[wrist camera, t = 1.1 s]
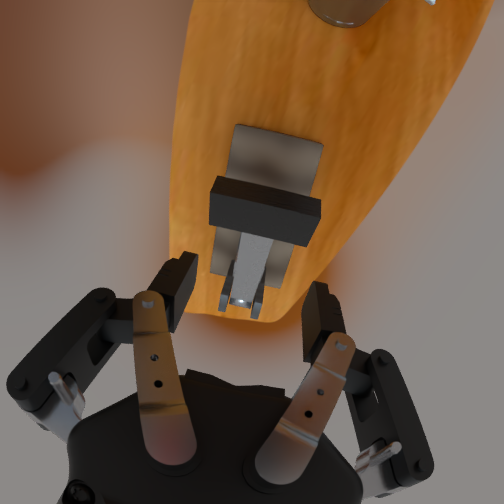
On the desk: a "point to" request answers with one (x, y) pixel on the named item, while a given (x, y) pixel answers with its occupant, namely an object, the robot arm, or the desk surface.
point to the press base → (272, 175)
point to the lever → (259, 226)
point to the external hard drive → (430, 1)
